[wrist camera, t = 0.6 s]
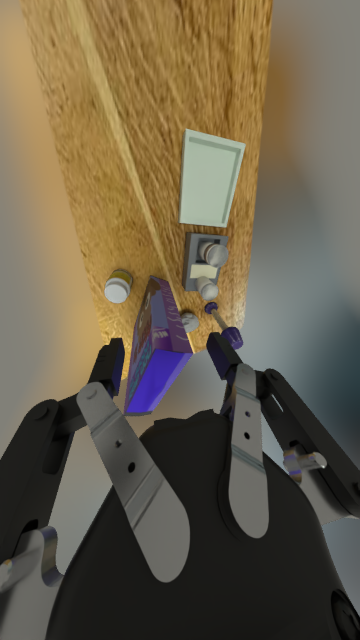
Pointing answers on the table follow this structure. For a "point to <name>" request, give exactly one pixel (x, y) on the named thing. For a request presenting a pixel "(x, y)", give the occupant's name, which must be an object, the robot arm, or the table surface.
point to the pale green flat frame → (208, 178)
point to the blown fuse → (212, 253)
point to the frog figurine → (189, 322)
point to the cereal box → (155, 349)
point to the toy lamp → (225, 327)
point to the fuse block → (200, 266)
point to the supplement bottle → (118, 286)
